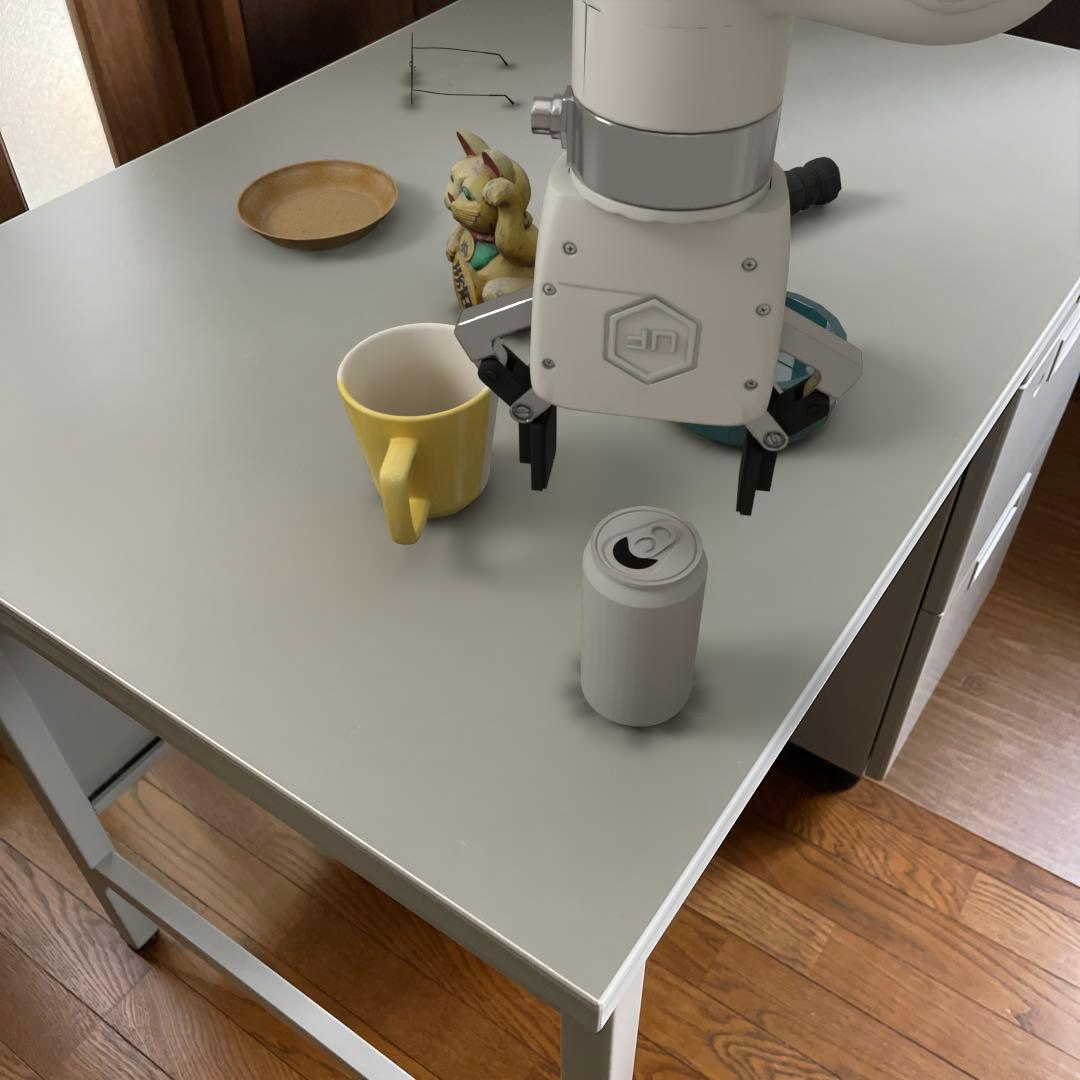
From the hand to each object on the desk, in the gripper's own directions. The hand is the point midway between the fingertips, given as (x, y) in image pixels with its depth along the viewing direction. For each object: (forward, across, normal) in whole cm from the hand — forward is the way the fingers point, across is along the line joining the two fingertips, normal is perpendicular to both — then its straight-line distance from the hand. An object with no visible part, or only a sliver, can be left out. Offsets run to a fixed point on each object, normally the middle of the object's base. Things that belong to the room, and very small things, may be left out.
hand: (643, 483), depth 53 cm
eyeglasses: (+17, -28, +80) cm, 86 cm away
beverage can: (+16, +1, 0) cm, 16 cm away
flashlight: (+16, +4, +52) cm, 55 cm away
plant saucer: (+17, -34, +49) cm, 62 cm away
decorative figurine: (+16, -14, +37) cm, 43 cm away
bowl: (+16, +6, +28) cm, 33 cm away
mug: (+16, -15, +13) cm, 26 cm away
